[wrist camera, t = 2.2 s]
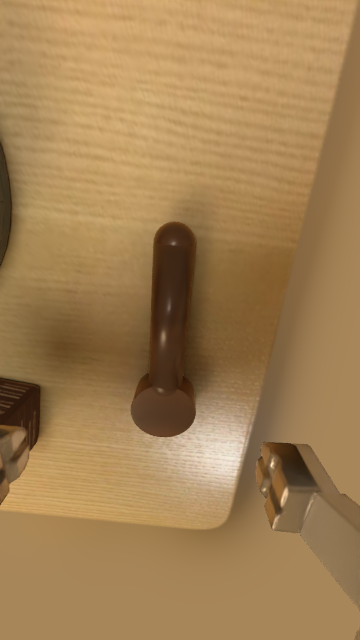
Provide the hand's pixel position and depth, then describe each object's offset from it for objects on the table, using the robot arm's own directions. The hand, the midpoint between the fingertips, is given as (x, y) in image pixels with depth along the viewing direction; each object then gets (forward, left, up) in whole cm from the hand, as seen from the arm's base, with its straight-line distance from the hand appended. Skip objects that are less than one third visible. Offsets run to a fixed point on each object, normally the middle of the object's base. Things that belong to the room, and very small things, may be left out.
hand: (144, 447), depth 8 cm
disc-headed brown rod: (0, 0, -9) cm, 9 cm away
